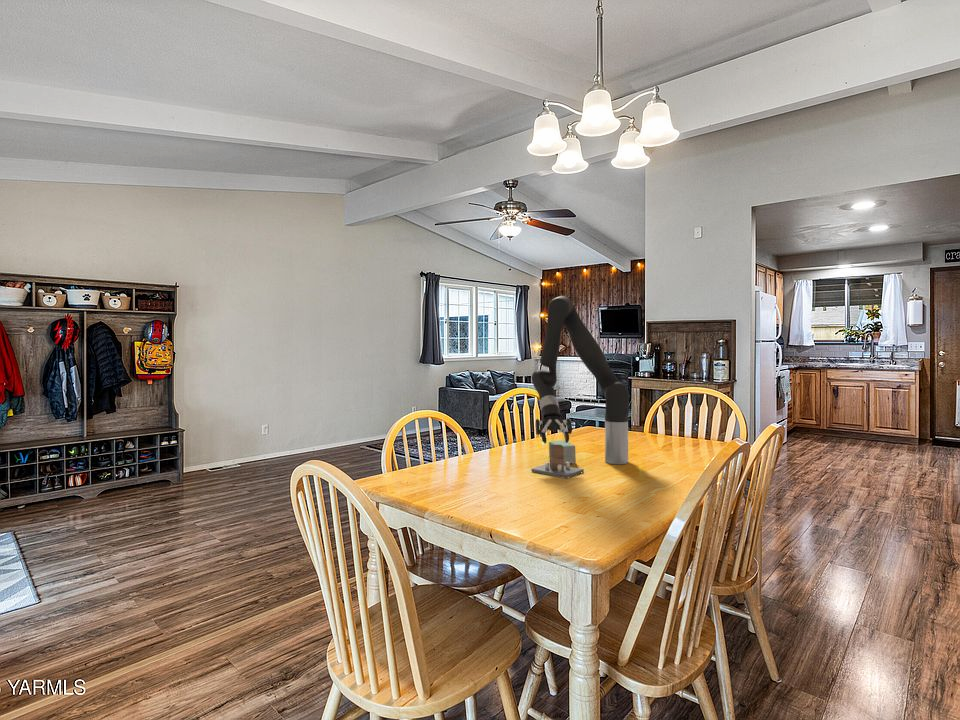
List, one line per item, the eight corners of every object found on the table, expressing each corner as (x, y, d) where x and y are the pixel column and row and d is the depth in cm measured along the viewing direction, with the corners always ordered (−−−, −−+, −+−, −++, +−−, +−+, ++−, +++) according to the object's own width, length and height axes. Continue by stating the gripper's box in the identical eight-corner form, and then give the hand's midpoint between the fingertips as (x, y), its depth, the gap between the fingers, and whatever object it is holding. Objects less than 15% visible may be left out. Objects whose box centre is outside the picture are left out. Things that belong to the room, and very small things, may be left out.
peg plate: (548, 466, 218) (548, 457, 218) (583, 472, 208) (583, 462, 208) (531, 471, 209) (531, 462, 209) (566, 478, 199) (566, 468, 199)
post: (549, 467, 211) (549, 444, 210) (561, 467, 211) (561, 444, 211) (552, 470, 206) (551, 447, 206) (563, 470, 206) (563, 446, 206)
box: (564, 456, 236) (564, 439, 236) (576, 463, 223) (575, 445, 222) (548, 457, 235) (548, 440, 234) (559, 464, 221) (558, 446, 221)
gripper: (533, 403, 218) (539, 437, 207) (568, 402, 219) (575, 435, 208) (531, 415, 224) (537, 448, 213) (565, 414, 225) (572, 446, 214)
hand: (556, 442), depth 211 cm, fingers open, 8 cm apart
